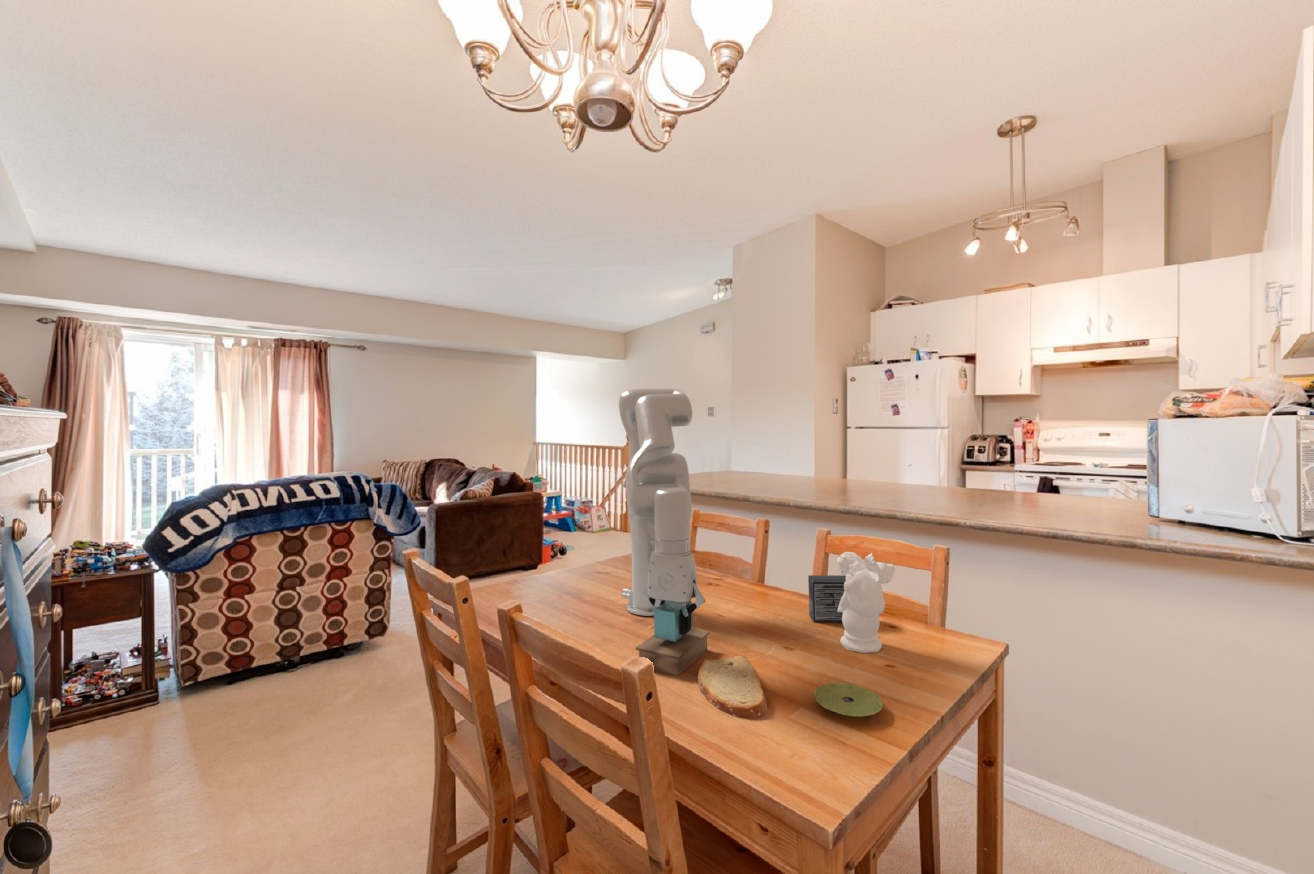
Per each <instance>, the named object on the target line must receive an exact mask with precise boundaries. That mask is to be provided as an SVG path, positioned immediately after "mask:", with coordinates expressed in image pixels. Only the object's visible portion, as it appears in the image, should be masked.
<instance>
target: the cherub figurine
mask: <svg viewBox="0 0 1314 874" xmlns="http://www.w3.org/2000/svg"><path fill="white" fill-rule="evenodd" d="M863 561H864V562H863ZM836 563H837V565H838V567H839V568H838V569H839V570H840V573H841V575H846V581H845V583H844V590H845V591H844V594H843V596H842V598H841V600H840V603H839V606H838V610H837V611H838V612H842V613H843V614H842V623H841V624H842V625H843V628H844V630H843V635H842V636H841V637H840V644H841V645H842V646H843V648H844V649H846V650H848V651H852V652H858V653H861V654H869V653H878V652H879V651H880V650H881V649H882V647H883V645H882V642H881V640H880V639H879V634H878V630H879V628H880V617H879V615H881V614H883V613H884V612H885V608H886V607H885V604H886V603H885V597H884V594H883V587H882V584H888V583H890V582H891V580H892V578H893V577H894V573H896V572H895V570H896V567H895V566H894V564H893V563H889V564H887V563H883V562H878V561H876V560H875V557H874V554H873V552H871V553H870V554H868V555H867V556H865V557H864V560H862V557H861V556H860V555H858V554H857V553H856V552H852V551H845V552H843V553H841V554H840V555H839V557H838V558H837V559H836Z"/></svg>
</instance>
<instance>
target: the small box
mask: <svg viewBox="0 0 1314 874" xmlns="http://www.w3.org/2000/svg"><path fill="white" fill-rule="evenodd" d="M807 579H808V581H807V582H808V609H809V610H808V615H809V617H810V619H811V620H812V621H811V622H813V623H822V624H823V623H826V624H827V623H829V624H830V623H831V624H834V623H837V624H843V623H842V614H843V613H842V612H838V611H837V610H838V606H839V603H840V600H841V598H842V596H843V594H844V591H845V590H844V583H845V581H846V575H843V574H841V575H837V574H836V575H831V574H829V575H826V574H825V575H820V574H819V575H813V574H812V575H810V574H809V575H808V578H807Z"/></svg>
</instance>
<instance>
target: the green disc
mask: <svg viewBox="0 0 1314 874" xmlns="http://www.w3.org/2000/svg"><path fill="white" fill-rule="evenodd" d="M814 698H815V700H816V702H817V703H818V704H819V705H820V706H822V708H824V709H827V710H828V711H831V712H835V713H837V714H839V715H843V716H848V717H849V716H850V717H860V718H861V717H867V716H872V715H875V714H877V713H879V712H880V711H881V710H883V709H882V708H883V706H884V703H883V700H882V698H881V697H880V696H879V695H877V693H875V692H874V691H872V690H870V689H868V688H865V687H863V686H860V685H855V684H849V683H842V682H832V683H828V684H827V683H826V684H822V685H821V686H819V687H816V689H815V691H814Z"/></svg>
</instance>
